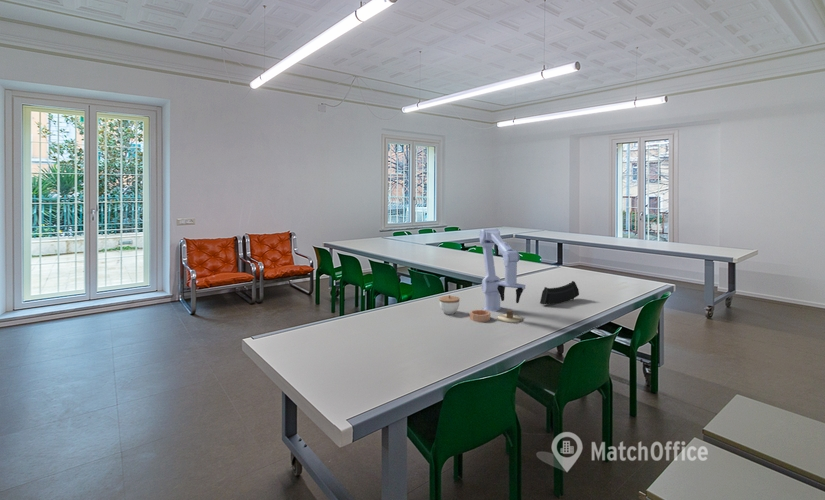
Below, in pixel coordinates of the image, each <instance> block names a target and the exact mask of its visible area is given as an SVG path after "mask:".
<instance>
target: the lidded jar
mask: <svg viewBox="0 0 825 500" xmlns="http://www.w3.org/2000/svg"><path fill="white" fill-rule="evenodd" d="M439 307H440V310H441V311H442V312H443V314H446V315H453V314H455V313H456V312H457V311H458V310H459V307H460V298H459V297H457V296H454V295H453V296H452V295H450V294H449V295H444V296H440V297H439Z"/></svg>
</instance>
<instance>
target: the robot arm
mask: <svg viewBox="0 0 825 500" xmlns="http://www.w3.org/2000/svg"><path fill="white" fill-rule="evenodd" d="M478 236H479V237H478V238H479V244H480V246H482V252H483V253H482V254H483V259H484V268H485V277H484V278H482V280H481V291H482V292H483V293H484V307H483V308H482V309H481V310H486V311H489V312H494V313H495V312H497V311H499V310H501V309H503V307H502V306H501V302H504V301H505V292H506V291H505V289H506V288H512V289H515V298H516V299H515V303H516V304H519V303H520V299H521V296H522V293H523V292H524V290H525V289H526V284H522V283H517V277H518V275H517V274H518V273H517V272H518V262H519V261H520V259H521V258H520V253H519V251H518V250H515V249H513V248H512V247H511V245H510V244H509V243H508V242H507V241H504V239H502V237H501V232H500V229H498V228H488V229H486V228H481V230H480V231H479V235H478ZM495 245H496V246H497V249H498V251H499V253H500V254H501V255H502V258H503V259H502V260H503V265H504V281H501V278H500V277H498V276H497V274H496V268H495V261H494V259H495V258H494V253H493V252H494V251H493V246H495Z"/></svg>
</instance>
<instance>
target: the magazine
mask: <svg viewBox="0 0 825 500" xmlns="http://www.w3.org/2000/svg"><path fill="white" fill-rule="evenodd" d="M579 295H580V289H579V288H578V285H577V283H576V281H574V280H572V281H571V282H570V283H568V284H565V285H562V286H558V287H557V286H556V287H546V286H544V289H543V290H542V293H541V297H540V302H539V304H540V305H543V306H544V305H558V304H559V305H560V304H563V303H567V302H569V301H572V300H574V299H575V298H577V297H578V296H579Z"/></svg>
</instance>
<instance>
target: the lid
mask: <svg viewBox="0 0 825 500" xmlns="http://www.w3.org/2000/svg"><path fill="white" fill-rule="evenodd" d="M496 318H497V319H498V320H500V321H499V322H501V321H503V322H502V323H507V322H509V323H508V324H513V323H515V322H519V323H521V322H522V321H523V320H522V316H521V315H517V314H514V310H513V309H508V310H506V313H505V314H504V313H503V314H499V315H498V316H497V317H496ZM520 321H521V322H520Z"/></svg>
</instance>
